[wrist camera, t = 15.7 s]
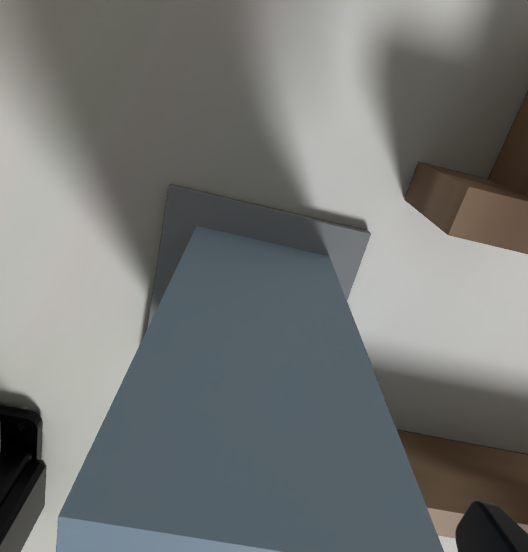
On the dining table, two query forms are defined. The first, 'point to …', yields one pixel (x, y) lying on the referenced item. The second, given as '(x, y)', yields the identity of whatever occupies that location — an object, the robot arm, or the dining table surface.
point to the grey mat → (251, 234)
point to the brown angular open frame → (501, 233)
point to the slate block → (248, 421)
